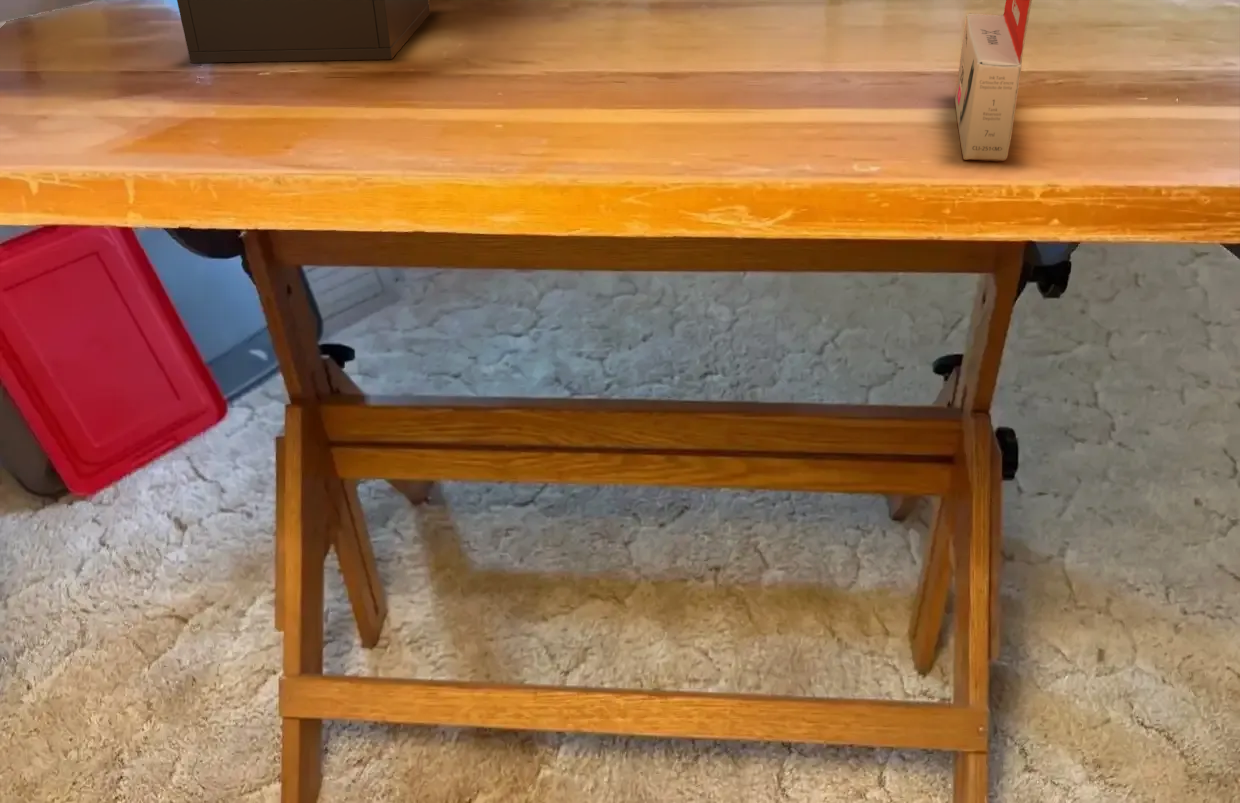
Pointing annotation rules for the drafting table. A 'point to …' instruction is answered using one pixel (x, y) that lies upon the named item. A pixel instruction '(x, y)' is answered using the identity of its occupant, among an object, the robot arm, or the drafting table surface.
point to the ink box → (990, 80)
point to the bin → (298, 29)
